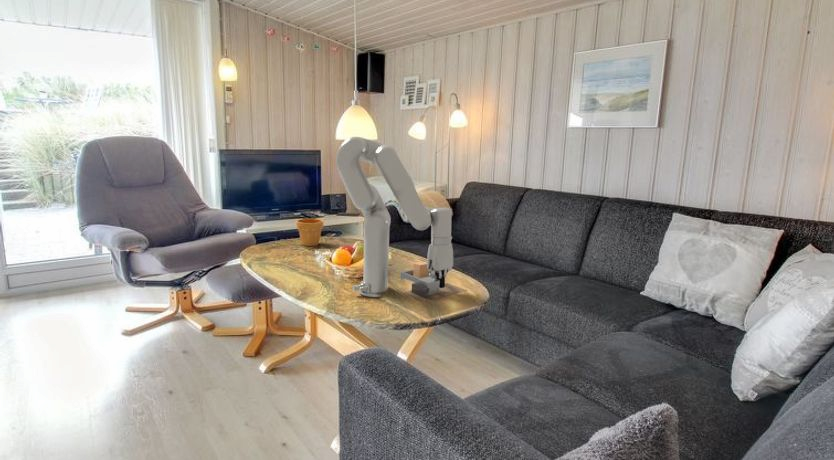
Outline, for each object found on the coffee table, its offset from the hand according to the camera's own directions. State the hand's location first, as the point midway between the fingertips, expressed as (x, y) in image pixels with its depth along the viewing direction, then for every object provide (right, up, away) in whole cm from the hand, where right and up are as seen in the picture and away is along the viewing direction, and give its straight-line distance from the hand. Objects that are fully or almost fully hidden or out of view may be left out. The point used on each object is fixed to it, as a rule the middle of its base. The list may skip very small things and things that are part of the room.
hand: (440, 286), depth 187 cm
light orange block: (-7, +1, +17) cm, 18 cm away
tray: (-8, 0, +17) cm, 18 cm away
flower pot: (-67, +14, +75) cm, 102 cm away
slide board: (-2, -3, 0) cm, 4 cm away
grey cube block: (-5, -2, -3) cm, 6 cm away
